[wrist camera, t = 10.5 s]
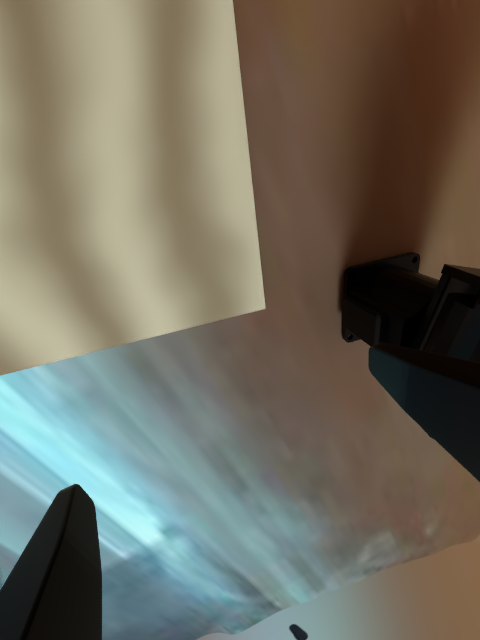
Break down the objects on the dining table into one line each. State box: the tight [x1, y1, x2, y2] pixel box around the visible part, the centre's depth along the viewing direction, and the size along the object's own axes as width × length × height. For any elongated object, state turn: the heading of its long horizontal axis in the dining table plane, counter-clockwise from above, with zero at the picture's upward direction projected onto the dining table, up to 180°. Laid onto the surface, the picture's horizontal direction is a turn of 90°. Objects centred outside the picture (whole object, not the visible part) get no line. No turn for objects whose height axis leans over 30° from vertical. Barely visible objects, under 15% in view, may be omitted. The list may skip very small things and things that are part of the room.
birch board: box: [0, 0, 265, 375], centre depth 15 cm, size 20×18×1 cm
